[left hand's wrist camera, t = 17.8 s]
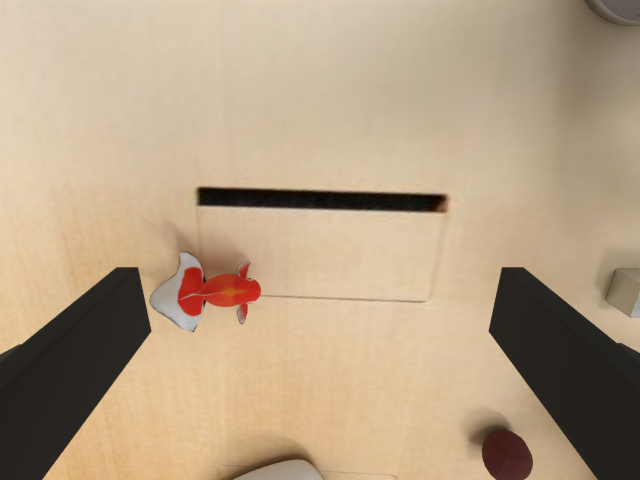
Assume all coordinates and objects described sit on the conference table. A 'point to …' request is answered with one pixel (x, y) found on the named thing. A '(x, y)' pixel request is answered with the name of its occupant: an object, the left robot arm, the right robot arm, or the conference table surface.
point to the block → (626, 292)
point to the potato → (507, 456)
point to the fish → (202, 293)
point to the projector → (284, 472)
